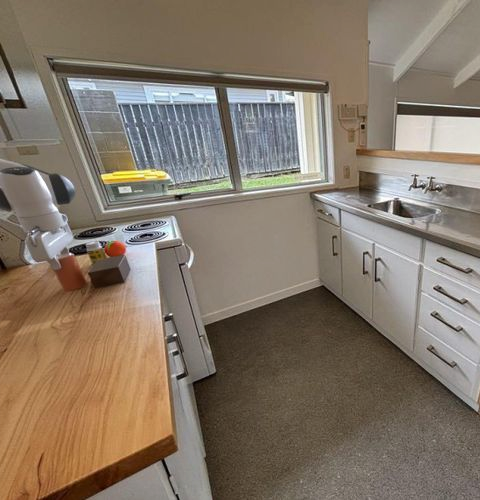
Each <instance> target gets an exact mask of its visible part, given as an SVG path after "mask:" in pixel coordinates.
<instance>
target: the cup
mask: <svg viewBox="0 0 480 500" xmlns="http://www.w3.org/2000/svg"><path fill="white" fill-rule="evenodd" d="M56 256H57V260H58V261H59V262H61V264H62V268H61V269H57V270H54V269H53V268H52V266H51V265H50V267H51V269H52V271H53V272H54V274H55V276H56V279H57V280H58V282H59V284H60V286H61V288H62V290H63V291H64V292H70V291H75V290H78V289H81V288H83V287H85V286H86V285H88V281H87V279H86V277H85V275H84V273H83V271H82V268H81V266H80V265H79V262H78V260H77V258H76V256H75V254H74V253H73V252H69V253H64V254H61V253H58V254H57V255H56Z"/></svg>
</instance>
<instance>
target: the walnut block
mask: <svg viewBox="0 0 480 500" xmlns="http://www.w3.org/2000/svg"><path fill="white" fill-rule="evenodd" d="M130 272H131V266H130V264H129V261H128V258H127V256H126V254H124V255H120V256H115V257H109V256H108V257H106V258H104V259H98V260H97V261H96V262H95V264H94V265H93V264H92V266H91V267H90V269H89V270H88V271H87V275H88V277H89V280H90V282H91V284H92V286H93V288H94V290H98V289H102V288H107V287H111V286H117V285H121V284H125V283H126V280H127V279H128V276H129V274H130Z"/></svg>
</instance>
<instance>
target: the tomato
mask: <svg viewBox="0 0 480 500" xmlns="http://www.w3.org/2000/svg"><path fill="white" fill-rule="evenodd" d="M103 250H104V253H105V255H106V256H107V257H108V258H109V257H115V256H120V255H126V252H127V247H126V245H125V244H124V243H123V242H122V241H119V240H112V241H109V242H107V243H106V244H105V245H104V248H103Z"/></svg>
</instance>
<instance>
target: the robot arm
mask: <svg viewBox="0 0 480 500" xmlns="http://www.w3.org/2000/svg"><path fill="white" fill-rule="evenodd" d="M76 196H77V191H76V189H75V186H74V184H73V183H72V182H71V180H70V179H68V178H67V177H66V176H63V175H61V174H59V173H56V172H55V173H49V172H46V171H44V170H41V169H38V168H37V167H34V166H31V165H27V164H25V163H24V164H23V163H19V162H14V161H12V160H7V159H3V158H0V210H1V211H5V212H9V213H15V216H16V219H17V221H18V223H19V225H20V227H21V229H22V230H23V232H24V233H26V234H28V235H27V236H26V238H25V245H26V248H27V249H28V253H29V254H30V256H31V258H32V260H33V261H34V262H35V263H43V262H46V263H47V264H48V265H50V267H51V266H52V267H51V269H52V268H53V269H54V270H57V269H61V268H62V264H61V262H59V261H58V260H57V256H56V255H59V254H64V253H70V247H69V245H70V244H71V243H72V242H73V241H74V238H73V237H74V236H73V233H72V231H71V227H70V225H69V224H68V221H69V220H68V216H67V215H66V214H64V213H61V212H60V211H59V209H58V208H57V207H56V206H62V205H69V204H70V203H71V202H72V201H74V199H75V197H76ZM53 269H52V270H53Z"/></svg>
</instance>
